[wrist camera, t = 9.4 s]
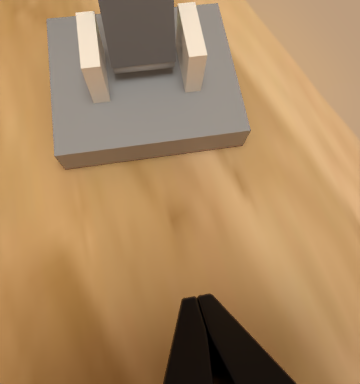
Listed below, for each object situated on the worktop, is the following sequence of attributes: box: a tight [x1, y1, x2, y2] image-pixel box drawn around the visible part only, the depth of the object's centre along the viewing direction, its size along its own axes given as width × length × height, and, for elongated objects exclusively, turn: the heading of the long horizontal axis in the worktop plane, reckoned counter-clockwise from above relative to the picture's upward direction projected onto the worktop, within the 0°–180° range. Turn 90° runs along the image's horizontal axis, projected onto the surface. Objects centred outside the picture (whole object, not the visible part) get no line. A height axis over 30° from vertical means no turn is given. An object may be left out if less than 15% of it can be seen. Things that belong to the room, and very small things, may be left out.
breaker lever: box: [98, 0, 176, 74], centre depth 20 cm, size 2×5×9 cm, turn 100°
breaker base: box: [47, 2, 251, 169], centre depth 24 cm, size 12×14×6 cm
